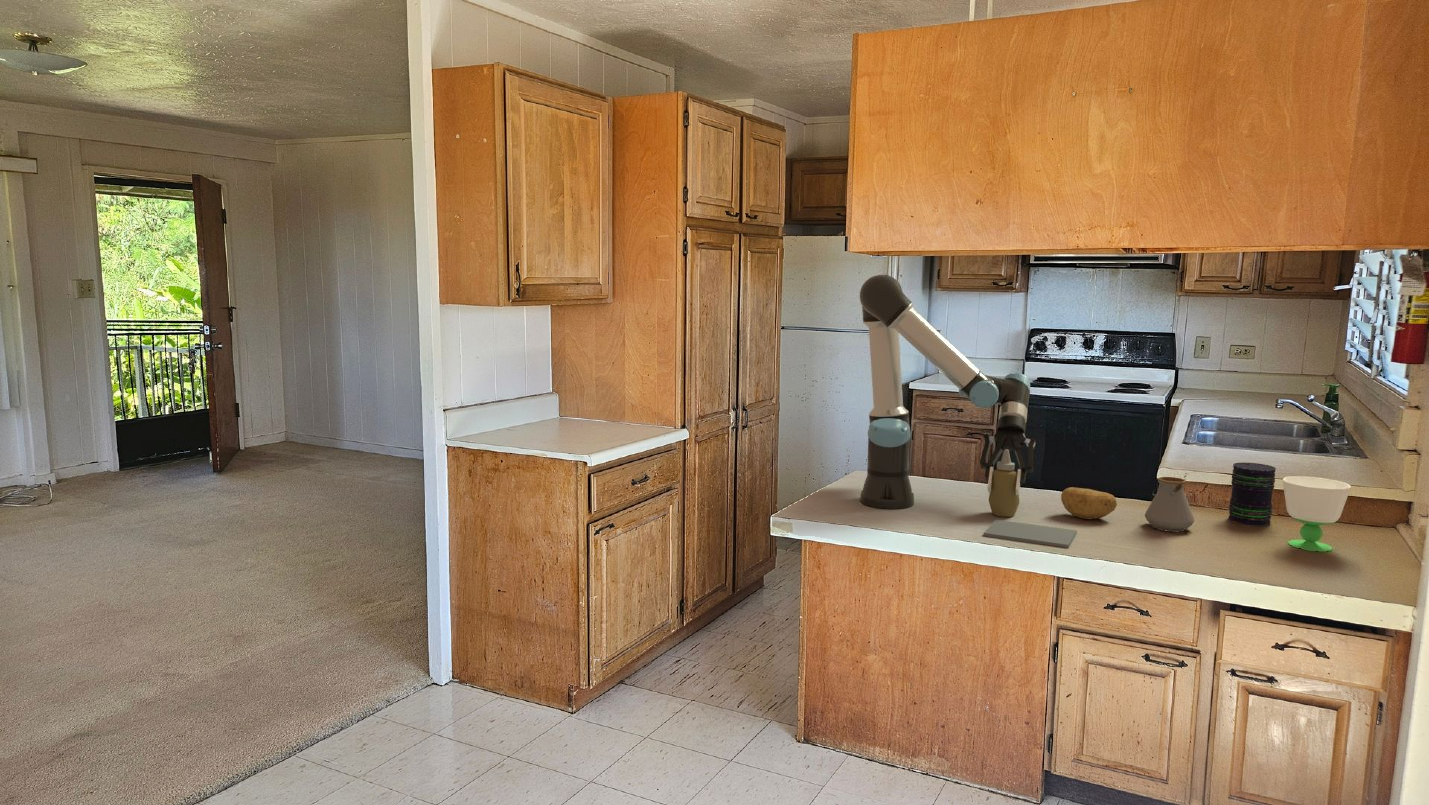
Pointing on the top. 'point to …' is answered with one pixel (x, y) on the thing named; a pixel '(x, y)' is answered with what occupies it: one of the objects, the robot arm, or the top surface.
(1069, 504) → the potato
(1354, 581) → the top surface
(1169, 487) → the coffee pot
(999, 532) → the rubber mat
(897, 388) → the robot arm
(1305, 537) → the cup
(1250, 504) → the storage jar
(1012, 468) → the squeeze bottle
